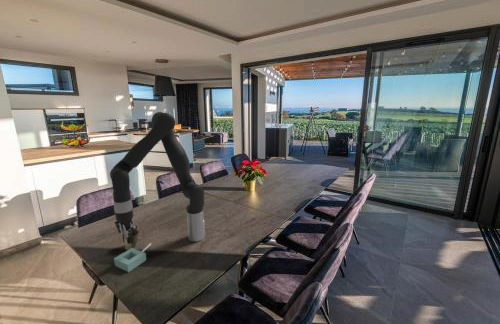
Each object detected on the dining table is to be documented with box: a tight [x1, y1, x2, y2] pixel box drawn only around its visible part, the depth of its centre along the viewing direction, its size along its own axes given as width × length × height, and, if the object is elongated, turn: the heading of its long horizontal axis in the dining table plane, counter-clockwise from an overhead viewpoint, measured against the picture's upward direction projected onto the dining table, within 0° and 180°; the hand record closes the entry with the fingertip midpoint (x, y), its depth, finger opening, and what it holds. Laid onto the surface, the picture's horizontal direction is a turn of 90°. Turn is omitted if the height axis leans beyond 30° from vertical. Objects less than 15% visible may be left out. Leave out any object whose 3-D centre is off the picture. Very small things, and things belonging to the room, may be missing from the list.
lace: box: [141, 242, 152, 253], centre depth 127 cm, size 10×1×1 cm, turn 168°
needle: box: [123, 228, 132, 250], centre depth 113 cm, size 3×3×12 cm
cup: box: [131, 229, 139, 248], centre depth 130 cm, size 8×7×8 cm
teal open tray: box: [113, 247, 147, 273], centre depth 116 cm, size 10×10×4 cm
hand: (127, 241), depth 114 cm, fingers closed on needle, 2 cm apart
